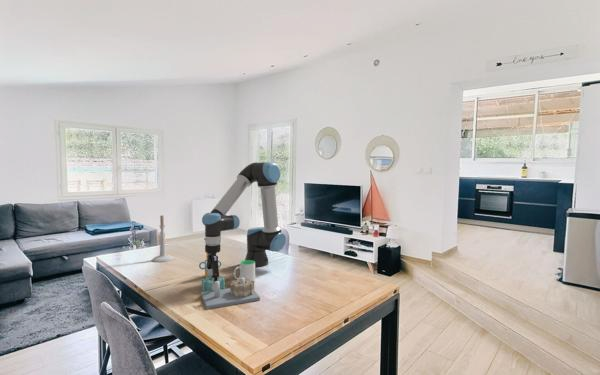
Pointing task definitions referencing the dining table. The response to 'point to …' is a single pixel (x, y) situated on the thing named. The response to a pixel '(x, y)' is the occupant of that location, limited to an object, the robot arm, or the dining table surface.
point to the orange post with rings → (206, 265)
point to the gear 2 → (242, 288)
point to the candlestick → (162, 245)
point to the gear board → (225, 297)
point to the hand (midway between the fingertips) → (212, 285)
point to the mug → (246, 270)
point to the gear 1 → (208, 283)
